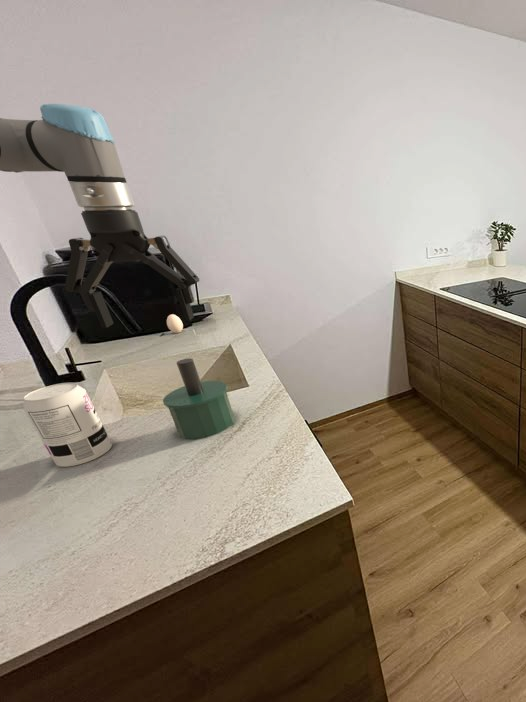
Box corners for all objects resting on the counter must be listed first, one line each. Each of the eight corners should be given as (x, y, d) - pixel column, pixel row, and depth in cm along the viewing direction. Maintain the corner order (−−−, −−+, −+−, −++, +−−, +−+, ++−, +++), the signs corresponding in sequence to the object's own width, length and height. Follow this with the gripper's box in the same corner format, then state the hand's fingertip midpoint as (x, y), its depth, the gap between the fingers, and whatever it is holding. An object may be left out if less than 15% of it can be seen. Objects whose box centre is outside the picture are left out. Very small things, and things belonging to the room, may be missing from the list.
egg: (187, 331, 147) (181, 313, 144) (174, 335, 143) (168, 316, 140) (180, 330, 149) (174, 312, 146) (167, 333, 145) (161, 315, 142)
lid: (155, 415, 75) (139, 376, 72) (175, 390, 85) (162, 355, 81) (221, 404, 79) (208, 367, 75) (233, 382, 88) (222, 347, 85)
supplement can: (47, 465, 73) (7, 398, 67) (97, 441, 81) (65, 378, 75) (74, 473, 71) (35, 404, 65) (123, 447, 78) (92, 384, 72)
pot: (172, 445, 79) (158, 411, 75) (188, 420, 88) (176, 388, 84) (229, 435, 82) (218, 401, 79) (239, 412, 91) (229, 381, 88)
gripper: (-1, 210, 60) (58, 335, 68) (184, 209, 68) (216, 321, 76) (31, 209, 66) (82, 323, 75) (197, 208, 74) (225, 311, 83)
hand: (150, 322), depth 75 cm, fingers open, 13 cm apart
